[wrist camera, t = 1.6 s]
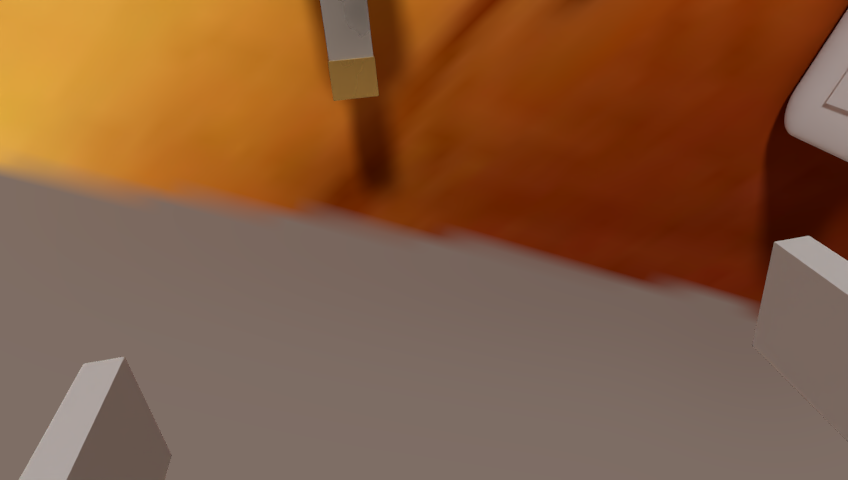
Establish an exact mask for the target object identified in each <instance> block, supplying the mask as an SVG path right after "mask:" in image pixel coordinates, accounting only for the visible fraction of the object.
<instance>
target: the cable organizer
mask: <svg viewBox="0 0 848 480" xmlns="http://www.w3.org/2000/svg"><path fill="white" fill-rule="evenodd" d="M784 124H785V128H786V130H787V132H788V133H789V134H790V135H791V136H793V137H796V138H798V139H800V140H802V141H804V142H806V143H808V144H810V145H813V146H815V147H817V148H819V149H821V150H823V151H825V152H828V153H830V154H832V155H834V156H836V157H838V158H840V159H842V160H845V161H847V162H848V9H847V11H846V12H845V14H844V15H843V17H842V18H841V20H840V21H839V23H838V24H837V26H836V27H835V29H834V30H833V32H832V34H831V35H830V37H829V38H828V40H827V41H826V43H825V44H824V46H823V47H822V49H821V50H820V52H819V53H818V55H817V56H816V58H815V59H814V61H813V62H812V64H811V66H810V67H809V69H808V70H807V72H806V73H805V75H804V76H803V78H802V79H801V81H800V82H799V84H798V85H797V87H796V89H795V90H794V92H793V94H792V95H791V97H790V100H789V102H788V104H787V108H786V111H785V116H784Z"/></svg>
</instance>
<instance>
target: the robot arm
mask: <svg viewBox="0 0 848 480" xmlns="http://www.w3.org/2000/svg"><path fill="white" fill-rule="evenodd" d="M752 346H753V347H754V348H755V349H756V350H757V351H758V352H759V353H760V354H761V355H762V356H763V357H764V358H765V359H766V360H767V361H768V362H769V363H770V364H771V365H772V366H773V367H774V368H775V369H776V370H777V371H778V372H779V373H780V374H781V375H782V376H783V377H784V378H785V379H786V380H787V381H788V382H789V383H790V384H791V385H792V386H793V387H794V388H795V389H796V390H797V391H798V392H799V393H800V394H801V395H802V396H803V397H804V398H805V399H806V400H807V401H808V402H809V403H810V404H811V405H812V406H813V407H814V408H815V409H816V410H817V411H818V412H819V413H820V414H821V415H822V416H823V417H824V418H825V419H826V420H827V421H828V422H829V423H830V424H831V425H832V426H833V427H834V428H835V429H836V430H837V431H838V432H839V433H840V434H841V435H842V436H843V437H844V438H845V439H846V440H847V441H848V261H847V260H846V259H844V258H842V257H841V256H839V255H838V254H836V253H835V252H833V251H832V250H830V249H829V248H827V247H826V246H824V245H823V244H821V243H820V242H818V241H817V240H815V239H813V238H812V237H810V236H804V237H798V238H793V239H787V240H781V241H776V242H774V245H773V249H772V254H771V259H770V264H769V268H768V273H767V278H766V282H765V287H764V292H763V297H762V301H761V306H760V311H759V315H758V320H757V325H756V330H755V334H754V339H753V344H752ZM171 456H172V455H171V453H170V451H169V449H168V447H167V444H166V442H165V440H164V438H163V436H162V434H161V432H160V430H159V428H158V426H157V424H156V422H155V419H154V417H153V415H152V413H151V411H150V409H149V407H148V405H147V403H146V400H145V398H144V396H143V394H142V392H141V390H140V388H139V386H138V384H137V382H136V379H135V377H134V375H133V373H132V371H131V369H130V367H129V365H128V363H127V360H126V358H125V357H120V358H114V359H108V360H103V361H97V362H91V363H86V364H83V366H82V368H81V369H80V371H79V373H78V375H77V376H76V378H75V380H74V382H73V384H72V386H71V387H70V389H69V391H68V393H67V394H66V396H65V398H64V400H63V402H62V403H61V405H60V407H59V409H58V411H57V412H56V414H55V416H54V418H53V420H52V421H51V423H50V425H49V427H48V429H47V430H46V432H45V434H44V436H43V437H42V439H41V441H40V443H39V445H38V447H37V448H36V450H35V452H34V454H33V455H32V457H31V459H30V461H29V463H28V464H27V466H26V468H25V470H24V472H23V473H22V475H21V477H20V479H19V480H165V476H166V473H167V469H168V466H169V463H170V459H171Z"/></svg>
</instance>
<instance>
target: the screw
mask: <svg viewBox="0 0 848 480" xmlns="http://www.w3.org/2000/svg"><path fill="white" fill-rule="evenodd" d="M320 4H321V10H322V17H323V24H324V31H325V37H326V44H327V51H328V66H329V73H330V80H331V86H332V93H333V100H334V101H337V100H346V99H355V98H364V97H373V96H379V92H378V83H377V74H376V65H375V57H374V53H373V49H372V41H371V32H370V23H369V14H368V5H367V0H320Z"/></svg>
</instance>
